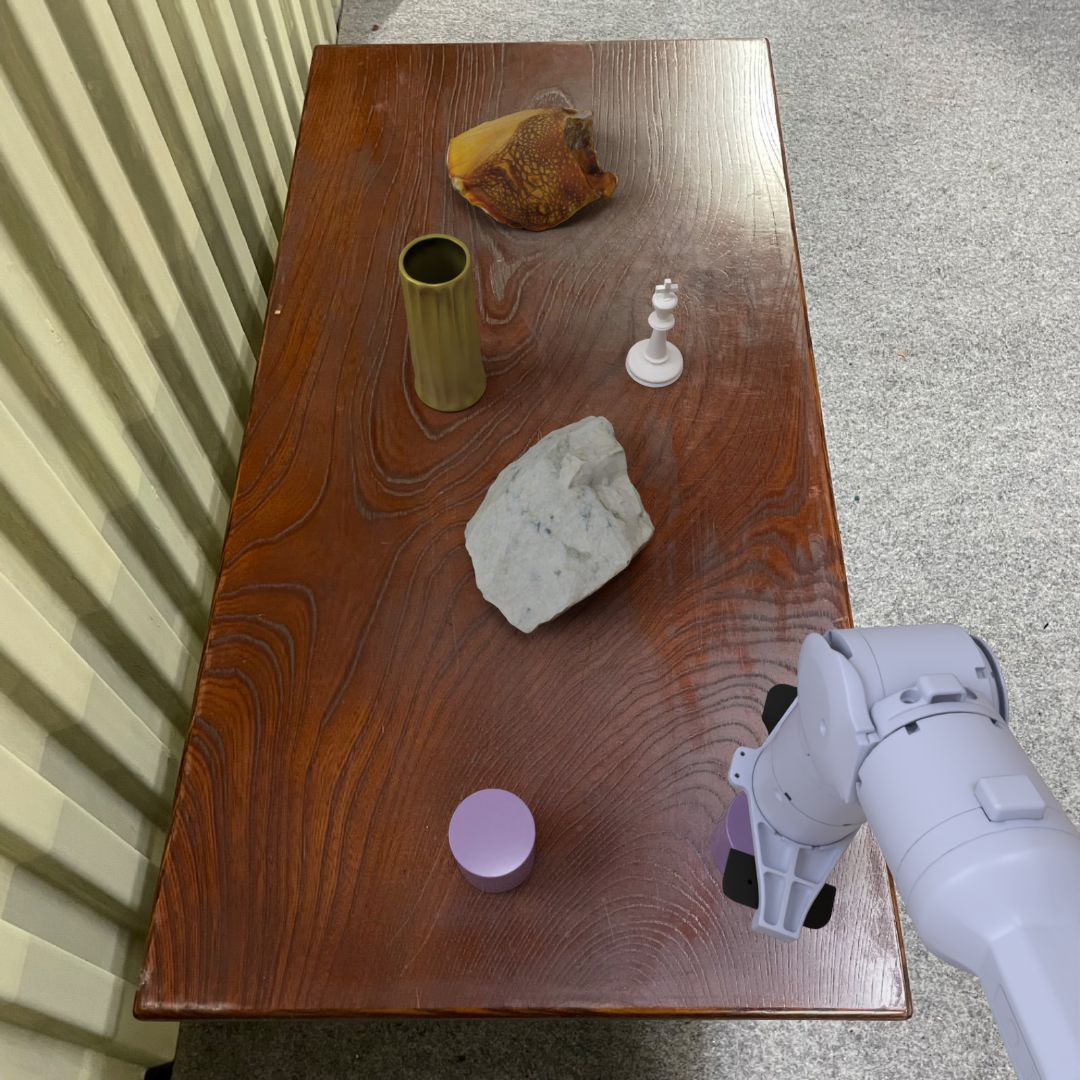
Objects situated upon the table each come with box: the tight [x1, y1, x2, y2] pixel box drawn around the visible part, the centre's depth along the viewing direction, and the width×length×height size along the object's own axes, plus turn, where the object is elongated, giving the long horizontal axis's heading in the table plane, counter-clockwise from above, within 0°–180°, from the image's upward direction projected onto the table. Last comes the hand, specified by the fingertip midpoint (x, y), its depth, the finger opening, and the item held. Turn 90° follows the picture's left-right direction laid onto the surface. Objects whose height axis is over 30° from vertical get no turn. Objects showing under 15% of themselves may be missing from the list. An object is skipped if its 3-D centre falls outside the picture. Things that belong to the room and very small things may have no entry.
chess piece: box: [625, 278, 684, 388], centre depth 76 cm, size 5×5×10 cm
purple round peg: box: [710, 790, 755, 876], centre depth 59 cm, size 5×5×6 cm
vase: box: [398, 233, 488, 413], centre depth 74 cm, size 6×6×14 cm
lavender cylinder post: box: [448, 788, 537, 894], centre depth 59 cm, size 5×5×6 cm
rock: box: [464, 415, 656, 635], centre depth 69 cm, size 15×16×8 cm
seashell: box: [445, 104, 620, 232], centre depth 89 cm, size 17×8×15 cm
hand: (770, 825), depth 56 cm, fingers open, 7 cm apart
